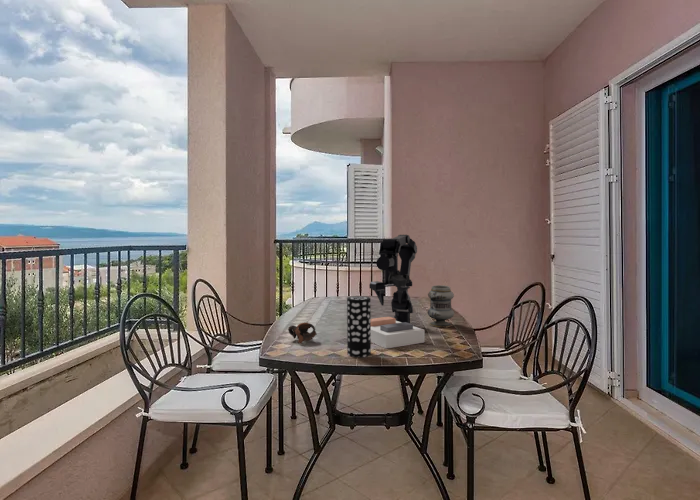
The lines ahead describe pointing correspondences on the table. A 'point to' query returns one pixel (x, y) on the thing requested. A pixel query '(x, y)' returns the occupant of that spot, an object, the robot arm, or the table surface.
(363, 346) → the white-spotted black cylinder
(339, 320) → the table surface
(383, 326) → the dark grey rectangular block
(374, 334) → the white tray
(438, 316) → the apothecary jar
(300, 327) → the brown toy animal
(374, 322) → the salmon orange rectangular block
